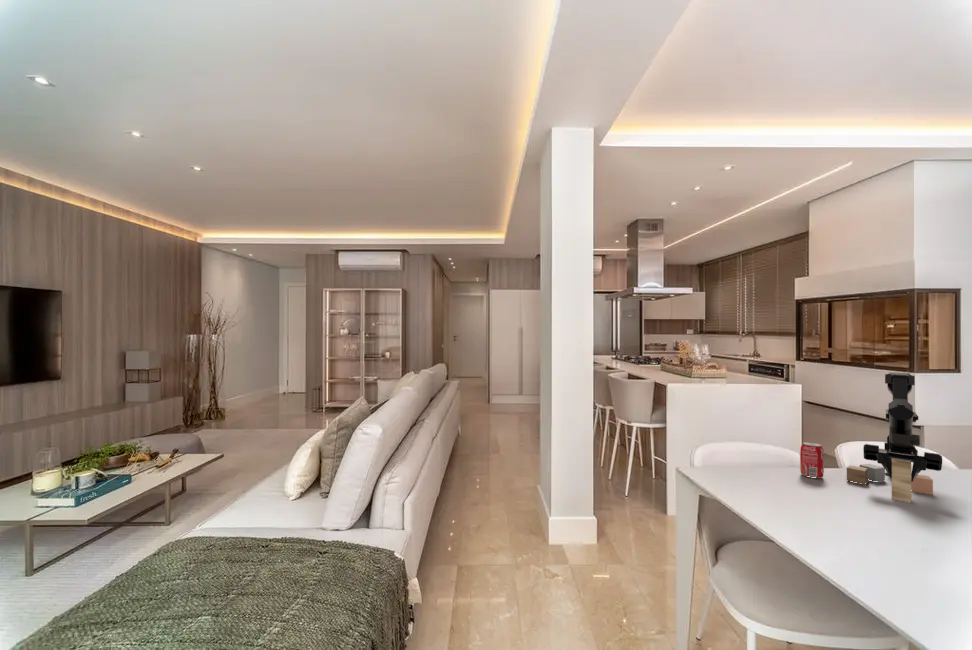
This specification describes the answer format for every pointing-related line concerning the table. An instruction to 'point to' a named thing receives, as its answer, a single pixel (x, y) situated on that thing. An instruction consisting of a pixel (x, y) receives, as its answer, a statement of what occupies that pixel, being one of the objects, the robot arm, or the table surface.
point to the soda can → (812, 459)
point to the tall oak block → (901, 480)
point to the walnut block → (857, 474)
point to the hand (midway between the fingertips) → (901, 479)
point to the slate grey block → (875, 472)
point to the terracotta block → (922, 484)
